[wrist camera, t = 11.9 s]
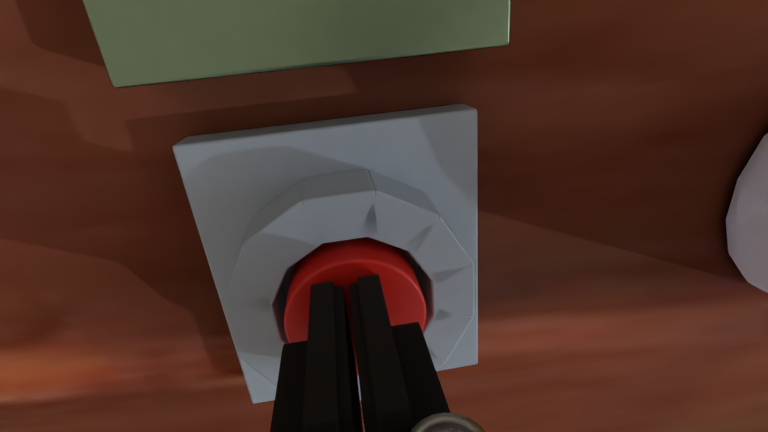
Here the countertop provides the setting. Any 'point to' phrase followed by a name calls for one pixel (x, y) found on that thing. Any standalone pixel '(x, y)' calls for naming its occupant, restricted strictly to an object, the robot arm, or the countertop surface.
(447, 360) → the grey square piece
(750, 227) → the soap bottle
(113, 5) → the plate
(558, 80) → the countertop surface
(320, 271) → the button
